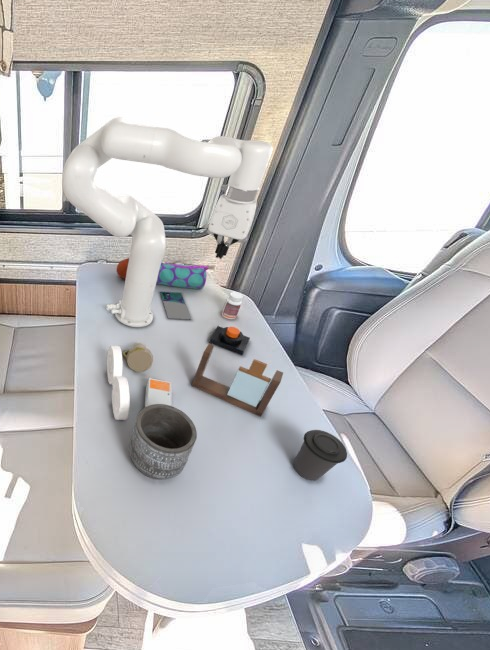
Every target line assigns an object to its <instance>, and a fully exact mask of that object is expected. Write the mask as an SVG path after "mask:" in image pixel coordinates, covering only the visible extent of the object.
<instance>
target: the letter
mask: <svg viewBox="0 0 490 650" xmlns="http://www.w3.org/2000/svg"><path fill="white" fill-rule="evenodd" d="M106 359H107V360H106V371H107V373H106V374H107V381H108V384H109V385H112V391H111V403H112V405H111V406H112V412H113V417H114V419H115V420H117V421H118V420H119V421H125V420H128V418H129V415H130V414H129V413H130V407H131V406H130V405H131V403H130V402H131V400H130V399H131V398H130V386H129V382H128V379H127V377H125V376H123V352H122V349H121V347H120V346H119V345H110V346H109V347H108V351H107V357H106Z"/></svg>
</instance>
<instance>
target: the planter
mask: <svg viewBox="0 0 490 650" xmlns="http://www.w3.org/2000/svg"><path fill="white" fill-rule="evenodd" d="M133 426H134V427H133V429H132V434H131V437H130V441H129V445H128V452H129V457H130V459H131V461H132V463H133V465H134V466H135V467H136V469H137V470H138V471H139V472H140V473H141V474H143V475H144V476H145V477H147V478H149V479H153V480H159V481H161V480H169V479H172V478H175V477H176V476H179V475H180V474H181V473H182V472H183V471H184V469H185V467H186V465H187V462H188V460H189V458H190V455H191V453H192V450H193V448H194V445H195V444H196V441H197V437H198V433H197V432H198V431H197V428H196V425H195V423H194V422H193V420H192V419H191V418H190V416H188V415H187V414H186V413H185V412H184V411H183V410H181V409H179V408H177V407H175V406H172V405H171V406H169V405H165V404H154V405H149V406H147V407H145V406H144V407H143V408H142V409H141V410H140V411H139V412H138V414H137V416H136V419H135V423H134V425H133Z"/></svg>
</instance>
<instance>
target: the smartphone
mask: <svg viewBox="0 0 490 650" xmlns="http://www.w3.org/2000/svg"><path fill="white" fill-rule="evenodd" d="M160 297H161V300H162V303H163V306H164V310H165V313H166V316H167V319H171V320H173V319H174V320H189V321H191V320H192V318H191V315H190V313H189V310H188V307H187V304H186V303H185V302H186V301H185V300H184V297H183V294H182V292H173V291H172V292H171V291H160Z"/></svg>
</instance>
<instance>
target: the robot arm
mask: <svg viewBox="0 0 490 650" xmlns="http://www.w3.org/2000/svg"><path fill="white" fill-rule="evenodd" d="M272 152H273V145H272V144H271V143H270V142H267V141H263V140H255V139H250V140H249V139H248V140H244V139H239V138H235V137H231V136H225V135H219V136H215V137H212V138H211V139H210V140H209V141H207V142H204V141H199V140H196V139H192V138H189V137H187V136H184V135H182V134H181V133H179V132H177V131H176V130H173V129H172V128H168V127H159V126H153V125H146V124H145V125H144V124H137V123H132V121H131V120H129V118H126V117H123V116H117V117H114V118H112V119H110V120H109V121H108V122H106V123H105V124H104V125H103V126H101V127H100V128H99V129H97V130H96V131H95V132H93V133H92V134H91V135H89V136H88V137H87V138H85V139H84V140H82V142H80V143H79V144H77V145H76V146H75V148H73V149H72V151H71V152H70V154H69V155H68V157H67V159H66V161H65V164H64V166H63V169H62V176H61V186H62V191H63V193H64V197H66V200H67V201H68V202H69V203H70V204H71V206H73V207H75V208H76V209H78V210H79V211H80V212H82V213H83V214H84V215H86V216H87V217H88V218H89V219H91V220H92V221H93V222H94V223H96V224H97V225H98V226H100V227H101V228H102V229H104V230H105V231H107V233H109V234H111V235H112V236H114V237H116V238H126V237H129V236H131V247H130V253H129V262H128V268H127V273H126V280H125V279H124V280H125V281H124V285H123V286H124V287H123V291H122V297H121V299H120V300H118V302H117V303H115V304H112V303H110V304H108V303H107V304H105V307H106V308H105V309H106V311H110V312H111V314H113V315H114V317H115V318H116V320H118V322H119V323H121V324H123V325H126V326H128V327H132V328H143V327H147V326H149V325H150V324H152V322H153V319H154V313H153V311H152V310H151V307H152V303H153V298H154V295H155V291H156V286H157V283H156V282H157V277H158V273H159V269H160V265H161V262H162V261H163V259H164V257H165V253H166V247H167V240H166V239H167V238H166V232H165V231H166V230H165V226H164V222H163V221H162V219H161V218H160V217H159V216H157V214H155V213H154V212H152V211H151V210H150V209H149V208H147V207H146V206H145V205H143V204H142V203H141V202H140V201H138V200H137V199H136V198H135V197H133V196H131V195H128V194H124V193H120V194H115V195H112V194H111V193H110V192H109V191H107V190H106V189H105V188H104V187H101V186H99V185H98V184H96V182H95V180H94V179H95V175H96V174H97V171H98V169H99V168H100V167H101V166H103V165H105V164H106V163H107V162H109V161H110V160H112V159H115V160H120V161H121V160H122V161H129V162H134V163H135V162H137V163H144V164H149V165H157V166H162V167H163V168H166V169H169V170H173V171H177V172H181V173H183V174H188V175H191V176H197V177H204V178H212V179H226V178H228V177H229V179H228V182H227V184H221V185H220V190H221V191H223V192H224V193H222V194H221V195H220V196H219V198H218V200H217V202H216V204H215V207H214V210H213V212H212V214H211V218H210V221H209V224H208V228H207V230H206V233H207V234H209V235H210V236H212V237H213V238H214V239H215V241H216V244H217V245H216V247H215V250H214V254H215V258H216V259H217V258H219V259H220V260H221V259H223V257H225V256H227V254H228V251H229V249H230V246H232V245H234V244H236V243H242V244H243V243H247V241H248V235H249V233H250V231H251V228H252V226H253V225H252V224H253V221H254V218H255V214H256V209H257V204H258V201H257V199H256V197H257V196H258V192H259V189H260V187H261V184H262V181H263V179H264V175H265V172H266V170H267V167H268V165H269V162H270V159H271V156H272ZM225 238H227V239H226V241H225Z"/></svg>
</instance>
